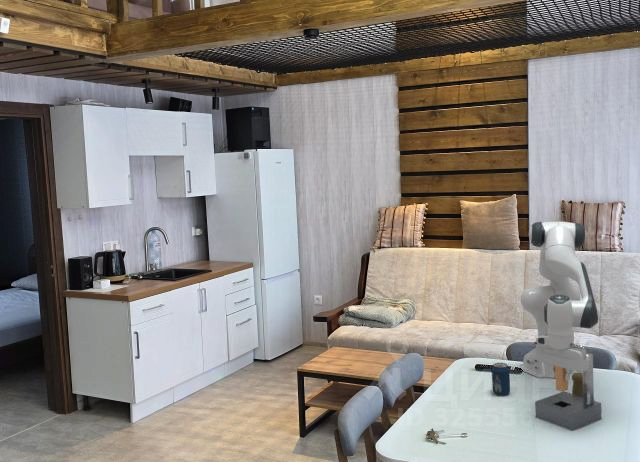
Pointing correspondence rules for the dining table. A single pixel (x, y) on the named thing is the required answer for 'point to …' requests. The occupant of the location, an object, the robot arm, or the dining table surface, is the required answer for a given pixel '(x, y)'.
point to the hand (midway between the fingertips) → (561, 378)
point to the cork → (577, 384)
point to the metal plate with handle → (571, 405)
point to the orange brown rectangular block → (561, 379)
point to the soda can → (500, 379)
